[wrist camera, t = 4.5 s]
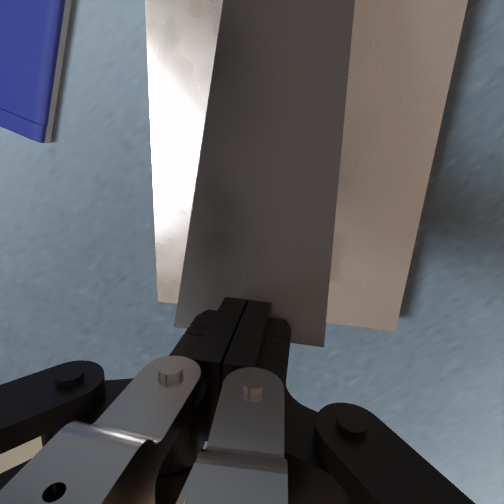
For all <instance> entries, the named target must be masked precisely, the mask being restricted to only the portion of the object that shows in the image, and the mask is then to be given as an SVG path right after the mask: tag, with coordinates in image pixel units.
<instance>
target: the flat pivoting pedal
mask: <svg viewBox="0 0 504 504" xmlns="http://www.w3.org/2000/svg"><path fill="white" fill-rule="evenodd" d="M354 5H355V0H223V4H222V11H221V17H220V24H219V31H218V37H217V44H216V51H215V57H214V64H213V71H212V77H211V84H210V91H209V97H208V104H207V110H206V117H205V124H204V130H203V137H202V144H201V150H200V157H199V164H198V170H197V177H196V184H195V190H194V197H193V204H192V210H191V217H190V223H189V230H188V237H187V243H186V250H185V257H184V263H183V270H182V277H181V283H180V290H179V297H178V303H177V310H176V317H175V323H174V327H180V328H187V329H188V327H190V324H191V323H192V321H193V320H194V318H195V317H196V316H197V315H199V314H200V313H202V312H204V311H206V310H207V309H208V310H216V311H217V310H218V308H219V307H220V305H221V303H222V301H223V300H224V298H225V297H231V298H239V299H247V300H248V301H249V300H256V301H264V302H271V318H278V319H285V320H286V321H287V322H288V324H289V326H290V327H291V338H290V343H297V344H304V345H311V346H319V347H324V338H325V327H326V316H327V305H328V294H329V283H330V272H331V261H332V249H333V238H334V227H335V216H336V205H337V194H338V183H339V172H340V161H341V150H342V138H343V127H344V116H345V105H346V94H347V83H348V72H349V61H350V50H351V38H352V27H353V16H354Z"/></svg>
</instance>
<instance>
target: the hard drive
mask: <svg viewBox="0 0 504 504" xmlns="http://www.w3.org/2000/svg"><path fill="white" fill-rule="evenodd" d="M71 3H72V0H0V126H1V127H3V128H6V129H8V130H10V131H13V132H15V133H18V134H20V135H22V136H25V137H27V138H29V139H32V140H34V141H37V142H40V143H50V142H51V137H52V130H53V123H54V117H55V111H56V104H57V97H58V91H59V84H60V77H61V70H62V64H63V57H64V50H65V44H66V37H67V30H68V23H69V16H70V10H71Z"/></svg>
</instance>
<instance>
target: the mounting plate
mask: <svg viewBox="0 0 504 504" xmlns="http://www.w3.org/2000/svg"><path fill="white" fill-rule="evenodd" d="M467 3H468V0H355V5H354V16H353V27H352V38H351V50H350V61H349V72H348V83H347V94H346V105H345V116H344V127H343V138H342V150H341V161H340V172H339V183H338V194H337V205H336V216H335V227H334V238H333V249H332V261H331V272H330V283H329V294H328V305H327V316H326V323H333V324H341V325H348V326H356V327H364V328H372V329H380V330H388V331H396V327H397V322H398V318H399V313H400V308H401V304H402V299H403V295H404V290H405V286H406V281H407V277H408V272H409V267H410V263H411V258H412V254H413V249H414V245H415V240H416V236H417V231H418V226H419V222H420V217H421V213H422V208H423V204H424V199H425V195H426V190H427V185H428V181H429V176H430V172H431V167H432V163H433V158H434V154H435V149H436V144H437V140H438V135H439V131H440V126H441V122H442V117H443V112H444V108H445V103H446V99H447V94H448V90H449V85H450V81H451V76H452V71H453V67H454V62H455V58H456V53H457V49H458V44H459V40H460V35H461V30H462V26H463V21H464V17H465V12H466V8H467ZM222 4H223V0H145V14H146V37H147V60H148V83H149V106H150V130H151V153H152V176H153V199H154V222H155V245H156V268H157V291H158V301H160V302H168V303H175V304H177V303H178V297H179V290H180V283H181V277H182V270H183V263H184V257H185V250H186V243H187V237H188V230H189V223H190V217H191V210H192V204H193V197H194V190H195V184H196V177H197V170H198V164H199V157H200V150H201V144H202V137H203V130H204V124H205V117H206V110H207V104H208V97H209V91H210V84H211V77H212V71H213V64H214V57H215V51H216V44H217V37H218V31H219V24H220V17H221V11H222Z"/></svg>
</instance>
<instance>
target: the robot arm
mask: <svg viewBox="0 0 504 504" xmlns="http://www.w3.org/2000/svg"><path fill="white" fill-rule="evenodd" d="M290 338H291V327H290V326H289V324H288V322H287V321H286V320H285V319H278V318H271V302H264V301H256V300H249V301H248V300H247V299H239V298H231V297H225V298H224V300H223V301H222V303H221V305H220V307H219V308H218V310H217V311H216V310H208V309H207V310H206V311H204V312H202V313H200V314H199V315H197V316H196V317H195V318H194V320H193V321H192V323H191V324H190V327H188V329H187V330H186V332H185V334H184V335H183V336H182V338H181V339H180V341H179V342H178V344H177V345H176V346H175V348H174V349H173V351H172V352H171V354H170V355H169V356H166V357H161V358H158V359H156V360H153V361H151V362H150V363H148V364H147V365H146V366H145V367H144V368H143V369H142V370H141V371H140V372H139V373H138V374H137V376H136V377H135V378H132V379H120V380H106V381H105V378H104V370H103V368H102V367H101V366H100V365H99V364H97V363H94V362H91V361H72V362H67V363H63V364H60V365H57V366H54V367H51V368H48V369H45V370H43V371H40V372H37V373H34V374H31V375H28V376H25V377H22V378H19V379H16V380H13V381H11V382H8V383H5V384H2V385H0V454H2V453H4V452H6V451H8V450H10V449H13V448H15V447H17V446H19V445H22V444H24V443H26V442H28V441H30V440H33V439H35V438H37V437H39V436H41V438H42V445H43V448H42V449H41V450H40V451H39V452H38V453H37V454H36V455H35V456H34V457H33V458H32V459H30V460H28V461H26V462H24V463H22V464H20V465H18V466H15V467H13V468H11V469H9V470H7V471H5V472H3V473H1V474H0V504H475V503H474V502H473V501H472V500H471V499H469V498H468V497H467V496H466V495H465V494H464V493H463V492H461V491H460V490H459V489H458V488H457V487H456V486H455V485H453V484H452V483H451V482H450V481H449V480H448V479H447V478H446V477H444V476H443V475H442V474H441V473H440V472H439V471H438V470H436V469H435V468H434V467H433V466H432V465H431V464H430V463H429V462H427V461H426V460H425V459H424V458H423V457H422V456H421V455H419V454H418V453H417V452H416V451H415V450H414V449H413V448H412V447H410V446H409V445H408V444H407V443H406V442H405V441H404V440H402V439H401V438H400V437H399V436H398V435H397V434H396V433H394V432H393V431H392V430H391V429H390V428H389V427H388V426H387V425H385V424H384V423H383V422H382V421H381V420H380V419H379V418H377V417H376V416H375V415H374V414H372V413H371V412H369V411H368V410H366V409H364V408H362V407H360V406H357V405H354V404H349V403H332V404H329V405H327V406H325V407H323V408H322V409H321V410H320V411H319V412H316V411H314V410H311V409H309V408H307V407H305V406H303V405H302V404H300V403H298V402H297V401H296V400H295V399H294V398H293V397H292V396H291V395H290V393H289V392H288V390H287V388H286V377H287V367H288V358H289V348H290ZM205 441H208V443H207V447H206V450H205V449H203V446H204V444H205ZM184 502H185V503H184Z"/></svg>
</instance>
